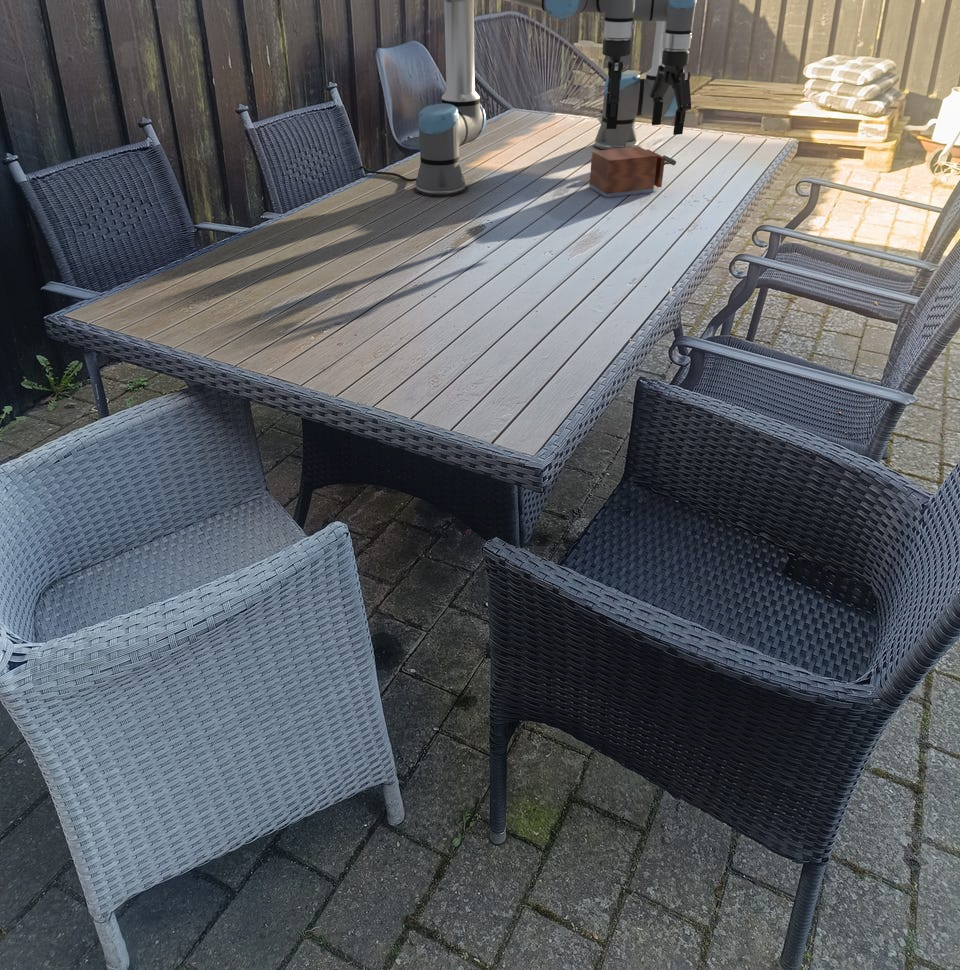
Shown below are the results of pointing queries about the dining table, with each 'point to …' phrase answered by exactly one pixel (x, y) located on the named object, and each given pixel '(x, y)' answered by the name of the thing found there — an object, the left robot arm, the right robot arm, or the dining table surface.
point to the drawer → (661, 168)
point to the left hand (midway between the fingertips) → (610, 123)
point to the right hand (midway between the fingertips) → (666, 129)
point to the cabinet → (622, 171)
